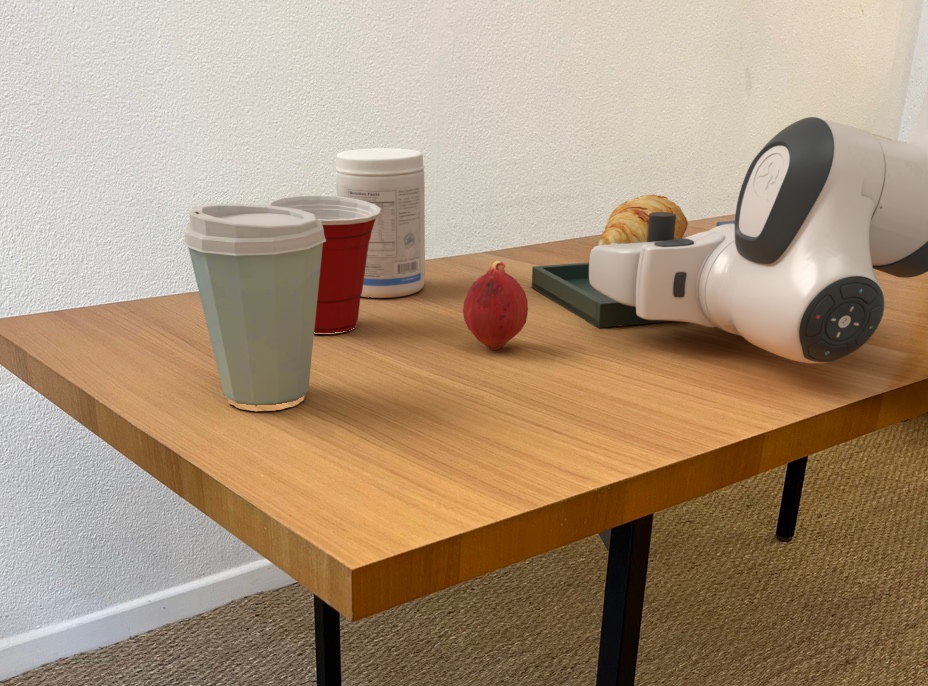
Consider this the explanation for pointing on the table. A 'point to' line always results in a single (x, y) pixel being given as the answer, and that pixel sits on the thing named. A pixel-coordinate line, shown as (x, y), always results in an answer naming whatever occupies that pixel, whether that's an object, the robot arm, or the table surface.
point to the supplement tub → (389, 216)
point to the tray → (584, 300)
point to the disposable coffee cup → (258, 296)
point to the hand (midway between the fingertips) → (659, 248)
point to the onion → (495, 307)
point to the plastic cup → (338, 256)
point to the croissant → (639, 220)
